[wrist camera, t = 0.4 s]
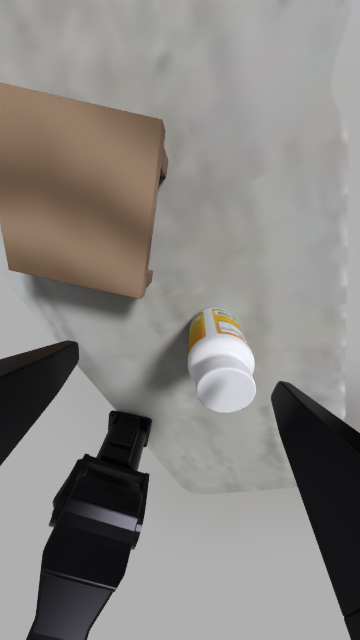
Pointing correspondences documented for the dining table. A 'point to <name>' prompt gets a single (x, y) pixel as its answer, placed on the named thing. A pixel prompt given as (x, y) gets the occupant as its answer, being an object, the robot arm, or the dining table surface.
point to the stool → (78, 190)
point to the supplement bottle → (220, 361)
